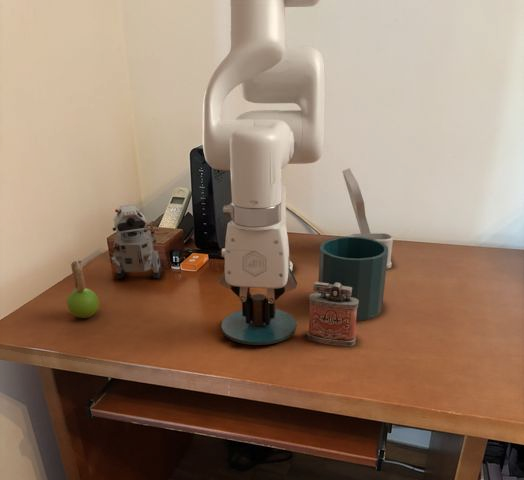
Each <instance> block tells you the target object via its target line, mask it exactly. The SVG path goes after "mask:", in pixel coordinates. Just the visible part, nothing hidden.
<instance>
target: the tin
mask: <svg viewBox="0 0 524 480" xmlns="http://www.w3.org/2000/svg"><path fill="white" fill-rule="evenodd" d="M387 258H388V247H387V246H386V245H385V244H384V243H382V242H380V241H377V240H374V239H370V238H364V237H347V236H340V237H333V238H330V239H326V240H325V241H323V242H322V243H320V245H319V256H318V280H317V282H321V283H329V284H330V285H334V283H336V282H337V283H340V284H341V285H342V286H347V287H352V294H351V297H352V298H356V299H358V300H359V304H358V307H357V315H356V322H361V321H367V320H371V319H373V318H375V317H377V316H378V315H379V314H381V312H382V310H383V304H384V293H385V285H386V276H387V269H388V268H387ZM317 293H321V292H317ZM326 294H330V293H326ZM344 296H345V295H344Z"/></svg>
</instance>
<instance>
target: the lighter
mask: <svg viewBox="0 0 524 480" xmlns="http://www.w3.org/2000/svg"><path fill="white" fill-rule="evenodd" d="M312 286H313V289H312V290H313V293H310V294H309V295H308V302H309V312H308V313H309V314H308V316H309V317H308V331H307V339H308V340H309V341H313V342H316V343H319V344H326V345H331V346H343V347H351V346H354V345H355V344H356V338H357V337H356V326H357V321H356V315H357V307H358V304H359V300H358V299H356V298H352V297H351V294H352V287H347V286H342V285H341V284H340V283H337V282H336V283H334V285H330V284H329V283H321V282H318V281H315V282H314V283H313V285H312ZM318 292H321V293H318ZM326 293H330V294H326ZM344 295H345V296H344Z"/></svg>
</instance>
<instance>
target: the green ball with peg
mask: <svg viewBox="0 0 524 480" xmlns="http://www.w3.org/2000/svg"><path fill="white" fill-rule="evenodd" d="M81 263H82V260H81V259H78V260H73V261H72V262H71V264H70V267H71V271H72V275H73V277H74V287H75V289H73V290H72V291H71V292H70V293H69V295H68V296H67V298H66V299H67V300H66V305H67V309H68V311H69V312H70V314H72V315H73V316H74V317H76V318H79V319H87V318H91V317H93V316H94V315H95V314H96V313H97V312H98V309H99V305H100V301H99V300H100V299H99V298H98V295H97V294H96V293H95V292H94V291H93V290H92V289H90V288H86V281H85V277H84V272H83V271H84V269H83V267H82V265H81Z"/></svg>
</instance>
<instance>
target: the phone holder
mask: <svg viewBox="0 0 524 480" xmlns="http://www.w3.org/2000/svg"><path fill="white" fill-rule="evenodd" d="M342 175H343V179H344V182H345V185H346V189H347V191H348V195H349V198H350V202H351V205H352V208H353V212H354V215H355V218H356V223H357V225H358V229H359V232H360V233H351V234H348V235H347V236H346V237H364V238H370V239H374V240H377V241H380V242H382V243H384V244H385V245H386V246H387V247H388V258H387V268H386V269H390V268H392V264H393V263H392V252H393V243H394V236H393V235H391V234H389V233H384V232H383V233H382V232H381V233H380V232H379V233H377V232H376V233H374V232H373V233H372V232H371V229H370V227H369V223H368V220H367V215H366V207H365V202H364V198H363V194H362V191H361V188H360V184H359V182H358V181H357V178H356V177H355V175H354V174H353V172H352V170H351V169H350V168H347V169H344V170H342Z"/></svg>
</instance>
